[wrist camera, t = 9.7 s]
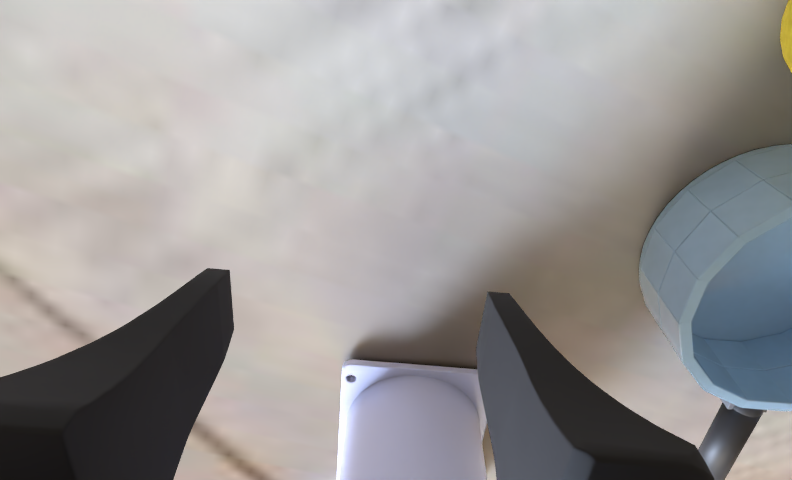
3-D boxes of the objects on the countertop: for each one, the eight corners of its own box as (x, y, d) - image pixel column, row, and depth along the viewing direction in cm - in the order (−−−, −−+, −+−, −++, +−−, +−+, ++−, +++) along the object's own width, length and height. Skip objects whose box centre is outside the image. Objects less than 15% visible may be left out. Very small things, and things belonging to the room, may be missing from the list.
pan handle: (721, 367, 25) (742, 397, 24) (759, 371, 25) (783, 400, 24) (671, 469, 29) (686, 501, 27) (705, 472, 29) (722, 503, 27)
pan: (815, 350, 28) (883, 419, 24) (611, 333, 27) (645, 400, 23) (932, 155, 22) (1042, 202, 19) (682, 132, 22) (740, 175, 18)
